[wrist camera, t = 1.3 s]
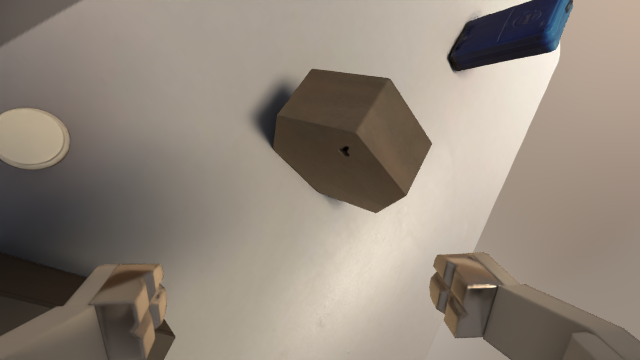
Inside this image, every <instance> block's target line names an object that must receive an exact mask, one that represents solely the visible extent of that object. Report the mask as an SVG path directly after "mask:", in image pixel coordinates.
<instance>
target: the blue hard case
mask: <svg viewBox="0 0 640 360" xmlns="http://www.w3.org/2000/svg"><path fill="white" fill-rule="evenodd" d="M572 3H573V0H532V1H529V2H526V3H523V4H520V5H517V6H513V7H510V8H508V9H505V10H502V11H499V12H496V13H493V14H489V15H486V16H483V17H480V18H478V19H475V20H473V21H470V22H469V23H468V24H467V26H466V28H465V29H464V31H463V33H462V34H461V36H460V38H459V39H458V41H457V43H456V45H455V47H454V49H453V51H452V54H451V56H450V59H451V61H452V64H453V66H454V68H455V70H456V71H461V70H466V69H471V68H475V67H480V66H484V65H489V64H494V63H499V62H503V61H509V60H513V59H519V58H524V57H529V56H535V55H539V54H544V53H549V52H552V51H554V50H556V48H557V47H558V44H559V40H560V37H561V35H562V32H563V29H564V27H565V24H566V22H567V19H568V17H569V14H570V12H571V10H572V8H573V4H572Z"/></svg>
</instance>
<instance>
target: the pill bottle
mask: <svg viewBox="0 0 640 360" xmlns="http://www.w3.org/2000/svg"><path fill="white" fill-rule="evenodd" d="M69 147H70V136H69V132H68V130H67V128H66V126H65V125H64V124H63V123H62V122H61V121H60V120H59V119H58V118H57V117H55V116H54V115H52V114H50V113H48V112H46V111H43V110H40V109H36V108H25V107H23V108H15V109H11V110H9V111H6V112H4V113H2V114H0V159H1V160H2V161H4V162H5V163H7V164H9V165H11V166H13V167H16V168H20V169H28V170H32V169H43V168H47V167H50V166H53V165H55V164H57V163H59V162H60V161H61V160H63V159H64V157H65V156H66V155H67V153H68V151H69Z"/></svg>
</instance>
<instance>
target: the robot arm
mask: <svg viewBox="0 0 640 360" xmlns="http://www.w3.org/2000/svg"><path fill="white" fill-rule="evenodd" d="M433 266H434V268H435V270H436V271H437V272H436V273H435V274H434V275H433V276H432V277H431V280H430V286H429V288H430V296H431V299H432V302H433V304H434V305H435V307H436V309H437V310H439V311H441V312H442V313H444V314H445V317H444V322H445V323H446V325H447V326H448V328H449V329H450V331H451V332H452V334H453V336H454V337H455V338H474V337H483V339H484V340H486V341H487V342H488V343H489V344H491V345H492V346H493V347H495V348H496V349H497V350H499V351H500V352H501V353H503V354H504V355H505V356H507V357H508V358H509V359H511V360H640V341H639V340H638V339H636V338H635V337H634V336H633V335H631V334H630V333H629V332H628V331H626V330H625V329H624V328H622V327H619V326H617V325H615V324H613V323H611V322H608V321H606V320H604V319H602V318H599V317H597V316H595V315H593V314H591V313H588V312H586V311H584V310H581V309H579V308H577V307H575V306H573V305H570V304H568V303H566V302H564V301H562V300H559V299H557V298H555V297H553V296H550V295H548V294H546V293H544V292H541V291H539V290H537V289H535V288H533V287H530V286H528V285H526V284H519V283H518V282H517V281H516V280H515V279H514V278H513V277H512V276H511V275H510V274H509V273H508V272H507V271H506V270H505V269H503V268H502V267H501V266H500V265H499V264H498V263H497V262H496V261H495V260H494V259H493V258H492V257H491V256H490V255H489V254H487V253H484V252H475V253H465V254H444V255H437V257H436V258H435V261H434V265H433ZM163 277H164V274H163V269H162V266H161V265H160V264H107V265H100V266H97V267H96V269H95V270H94V271H93V272H92V273H91V274H90V276H89V277H88V278H87V279H86V280H85V281H84V283H83V284H82V285H81V286H80V287H79V288H78V290H77V291H76V292H75V293H74V294H73V295H72V297H71V298H70V299H69V300H68V301H67V302H66V304H65V305H64V306H58V307H55V308H53V309H51V310H49V311H47V312H45V313H43V314H41V315H40V316H38V317H36V318H34V319H32V320H30V321H28V322H26V323H25V324H23V325H21V326H19V327H17V328H15V329H13V330H11V331H9V332H8V333H6V334H4V335H2V336H0V360H146V359H147V356H148V354H149V352H150V350H151V347H152V345H153V343H154V340H155V332H154V330H155V329H156V328H158V327H159V326H160V325H161V324H162V322H163V319H164V317H165V312H166V307H167V294H166V289H165V288H164V287H163V286H162V285H161V284H160V283H161V281H162V279H163Z"/></svg>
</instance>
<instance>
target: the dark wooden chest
mask: <svg viewBox="0 0 640 360" xmlns="http://www.w3.org/2000/svg"><path fill="white" fill-rule="evenodd" d="M86 279H87V278H86V277H82V276H79V275H75V274H72V273H69V272H65V271H62V270H59V269H55V268H52V267H49V266H45V265H42V264H38V263H35V262H32V261H28V260H25V259H22V258H18V257H15V256H11V255H8V254H5V253H1V252H0V291H1V292H5V293H9V294H13V295H17V296H22V297H26V298H30V299H34V300H38V301H42V302H46V303H50V304H55V305H59V306H64V305H65V304H66V302H67V301H68V300H69V299H70V298H71V297H72V295H73V294H74V293H75V292H76V291H77V290H78V288H79V287H80V286H81V285H82V284H83V283H84V281H85V280H86ZM156 329H158V330H162V331H166V332H171V333H173V332H172V331H171V329H170V327H169V326H168V324H167V323H166V321H165V320H164V319H163V322H162V324H161V325H160V326H159V327H158V328H156Z"/></svg>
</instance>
